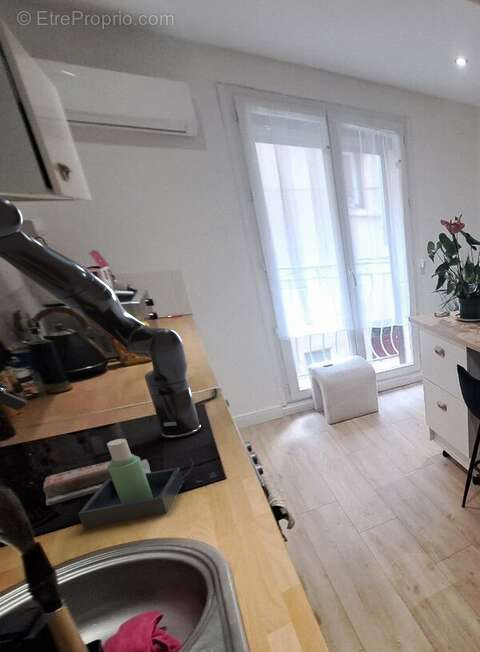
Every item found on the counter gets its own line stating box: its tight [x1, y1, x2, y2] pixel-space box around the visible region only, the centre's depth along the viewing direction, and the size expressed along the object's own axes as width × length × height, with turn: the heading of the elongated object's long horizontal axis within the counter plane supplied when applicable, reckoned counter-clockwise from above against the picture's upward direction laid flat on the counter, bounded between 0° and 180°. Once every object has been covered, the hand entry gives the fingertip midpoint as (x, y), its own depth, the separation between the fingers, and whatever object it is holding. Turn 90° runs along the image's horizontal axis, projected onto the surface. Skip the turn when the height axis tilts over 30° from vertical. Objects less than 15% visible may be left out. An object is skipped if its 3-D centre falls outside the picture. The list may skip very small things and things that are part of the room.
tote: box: [77, 467, 184, 530], centre depth 94 cm, size 14×14×5 cm
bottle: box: [106, 438, 153, 504], centre depth 91 cm, size 5×5×16 cm
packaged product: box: [42, 458, 152, 506], centre depth 101 cm, size 18×5×10 cm
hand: (10, 414), depth 80 cm, fingers open, 8 cm apart
